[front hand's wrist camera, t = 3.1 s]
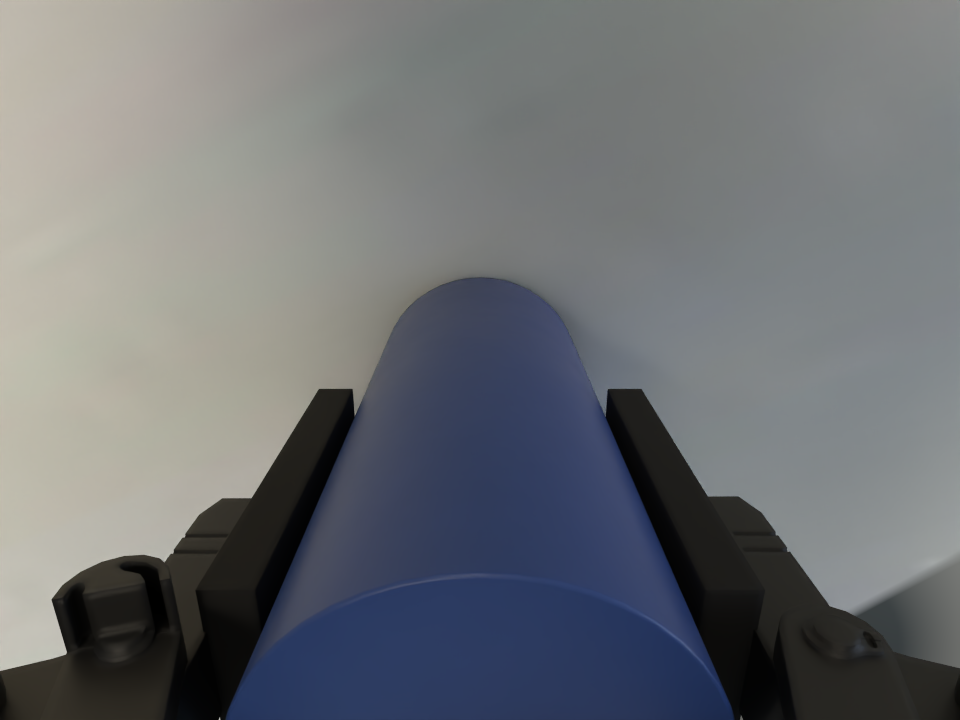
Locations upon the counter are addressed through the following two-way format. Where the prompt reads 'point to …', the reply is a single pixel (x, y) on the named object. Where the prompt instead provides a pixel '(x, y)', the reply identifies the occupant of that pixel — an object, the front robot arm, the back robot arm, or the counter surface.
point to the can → (480, 545)
